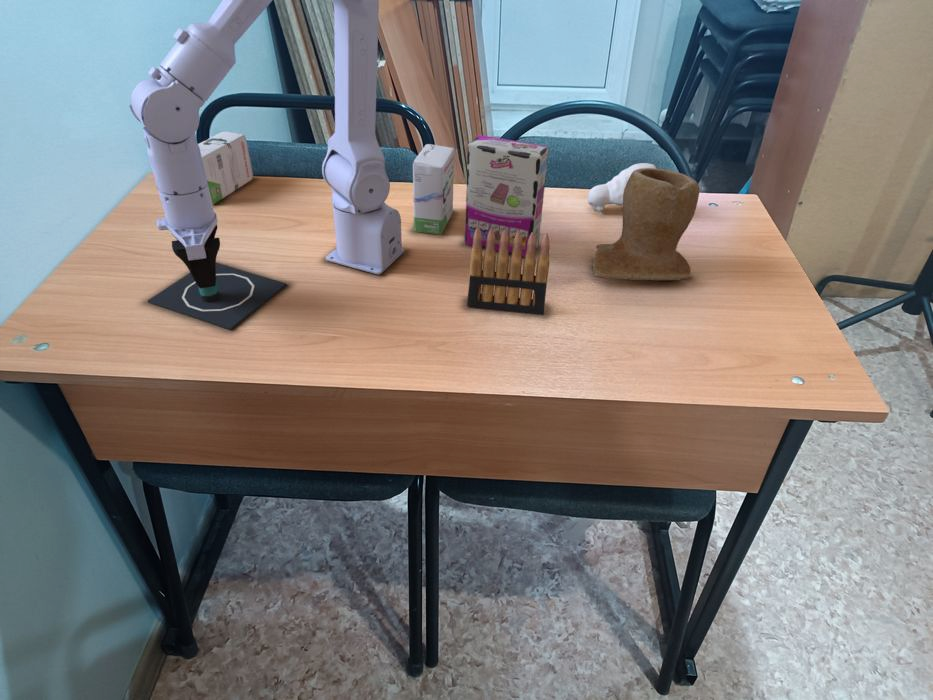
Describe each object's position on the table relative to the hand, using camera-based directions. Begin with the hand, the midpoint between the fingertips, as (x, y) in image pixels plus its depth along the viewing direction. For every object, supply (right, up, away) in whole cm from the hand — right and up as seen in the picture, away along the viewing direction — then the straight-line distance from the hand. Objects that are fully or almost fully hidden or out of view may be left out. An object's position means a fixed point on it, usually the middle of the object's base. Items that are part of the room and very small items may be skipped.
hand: (206, 280), depth 87 cm
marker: (0, -2, +2) cm, 3 cm away
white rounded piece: (+62, +15, +28) cm, 69 cm away
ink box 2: (+29, +12, +22) cm, 39 cm away
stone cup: (+61, +3, +13) cm, 62 cm away
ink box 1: (-10, +19, +21) cm, 30 cm away
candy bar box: (+41, +7, +17) cm, 44 cm away
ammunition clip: (+40, -4, +3) cm, 41 cm away
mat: (+1, -2, +3) cm, 3 cm away
